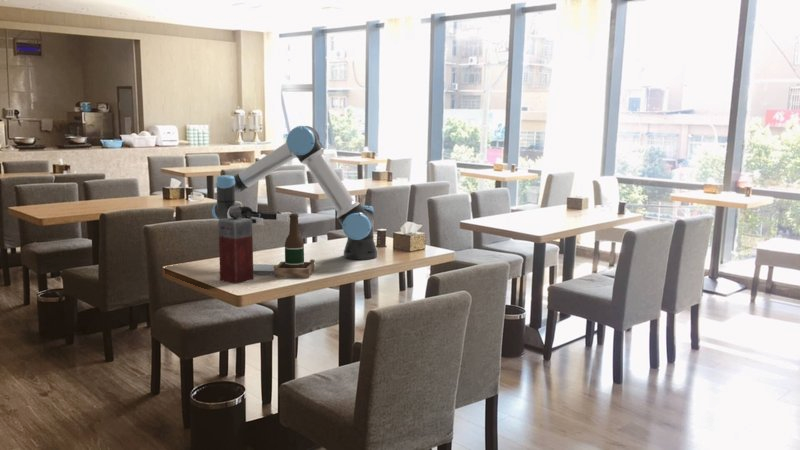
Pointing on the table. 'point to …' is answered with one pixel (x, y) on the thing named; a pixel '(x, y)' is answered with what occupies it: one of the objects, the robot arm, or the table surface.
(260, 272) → the trivet
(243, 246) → the red square bottle
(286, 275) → the wooden tray
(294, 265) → the beer bottle
